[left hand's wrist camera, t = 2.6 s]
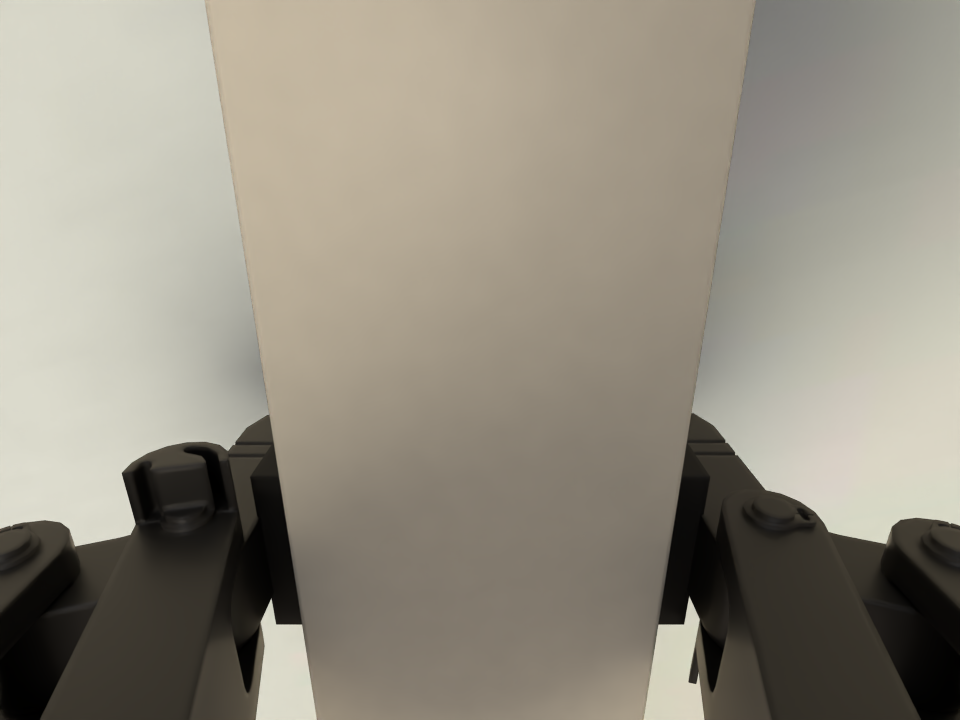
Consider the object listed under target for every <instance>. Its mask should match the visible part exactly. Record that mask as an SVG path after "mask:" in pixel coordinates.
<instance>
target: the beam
mask: <svg viewBox="0 0 960 720" xmlns="http://www.w3.org/2000/svg"><path fill="white" fill-rule="evenodd" d="M755 3H756V0H205V5H206V11H207V18H208V24H209V31H210V37H211V43H212V50H213V56H214V63H215V69H216V75H217V82H218V88H219V95H220V101H221V107H222V114H223V120H224V127H225V133H226V139H227V146H228V152H229V159H230V165H231V171H232V178H233V184H234V191H235V197H236V203H237V210H238V216H239V223H240V229H241V236H242V242H243V248H244V255H245V261H246V268H247V274H248V280H249V287H250V293H251V300H252V306H253V312H254V319H255V325H256V332H257V338H258V344H259V351H260V357H261V364H262V370H263V376H264V383H265V389H266V396H267V402H268V408H269V415H270V421H271V428H272V434H273V440H274V447H275V453H276V460H277V466H278V472H279V479H280V485H281V492H282V498H283V504H284V511H285V517H286V524H287V530H288V537H289V543H290V549H291V556H292V562H293V569H294V575H295V581H296V588H297V594H298V601H299V607H300V613H301V620H302V626H303V633H304V639H305V645H306V652H307V658H308V665H309V671H310V677H311V684H312V690H313V697H314V703H315V709H316V716H317V720H643V719H644V713H645V706H646V700H647V693H648V687H649V681H650V674H651V668H652V661H653V655H654V649H655V642H656V636H657V629H658V623H659V617H660V610H661V604H662V597H663V591H664V585H665V578H666V572H667V565H668V559H669V553H670V546H671V540H672V533H673V527H674V521H675V514H676V508H677V501H678V495H679V489H680V482H681V476H682V470H683V463H684V457H685V450H686V444H687V438H688V431H689V425H690V418H691V412H692V406H693V399H694V393H695V386H696V380H697V374H698V367H699V361H700V354H701V348H702V342H703V335H704V329H705V322H706V316H707V310H708V303H709V297H710V290H711V284H712V278H713V271H714V265H715V258H716V252H717V246H718V239H719V233H720V226H721V220H722V214H723V207H724V201H725V194H726V188H727V182H728V175H729V169H730V162H731V156H732V150H733V143H734V137H735V130H736V124H737V118H738V111H739V105H740V98H741V92H742V86H743V79H744V73H745V66H746V60H747V54H748V47H749V41H750V34H751V28H752V22H753V15H754V9H755Z"/></svg>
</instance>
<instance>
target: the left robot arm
mask: <svg viewBox="0 0 960 720" xmlns="http://www.w3.org/2000/svg"><path fill="white" fill-rule="evenodd" d="M122 476H123V479H124V483H125V487H126V490H127V494H128V497H129V501H130V505H131V508H132V512H133V515H134V519H135V523H136V525H135V527H134V529H133V531H132V533H131V535H129V536H125V537H121V538H116V539H111V540H106V541H101V542H96V543H91V544H86V545H81V546H76V547H75V545H74V542H73V539H72V536H71V533H70V530H69V529H68V528H67V527H66V526H64V525H63V524H62V523H60V522H53V521H46V520H44V521H35V522H27V523H20V524H15V525H13V526H11V527H10V526H8V527H5V528H2V529H0V720H256V712H257V704H258V695H259V687H260V679H261V671H262V663H263V655H264V639H263V632H262V627H261V620H262V618H263V615H264V613H265V611H266V609H267V607H268V604H269V602H270V600H271V598H272V603H273V608H274V614H275V620H276V624H302V620H301V613H300V607H299V601H298V594H297V588H296V581H295V575H294V569H293V562H292V556H291V549H290V543H289V537H288V530H287V524H286V517H285V511H284V504H283V498H282V492H281V485H280V479H279V472H278V466H277V460H276V453H275V447H274V440H273V434H272V428H271V421H270V415H267V416H265V417H264V418H262V419H260V420H259V421H257V422H255V423H254V424H252V425H251V426H249V427H247V428H246V430H245V431H244V432H243V433H242V435H241V436H240V437H239V438H238V440H237V441H236V442H235V445H233V446H232V447H231V448H230V450H229V451H227V450H225V449H224V448H223V447H221V446H220V445H217V444H213V443H208V442H187V443H182V444H177V445H172V446H167V447H164V448H161V449H159V450H156V451H153V452H150V453H148V454H146V455H144V456H143V457H141V458H139V459H137V460H136V461H134V462H132V463H131V464H130V465H129V466H128V467H127V468H126V469H125V470H124V471H123V472H122ZM689 596H690V598H691V601H692V603H693V605H694V607H695V609H696V612H697V614H698V616H699V618H700V622H699V627H698V632H697V638H696V643H695V648H694V653H693V658H692V664H691V669H690V675H689V683H694V684H696V682H697V677H698V672H699V678H700V686H701V694H702V702H703V710H704V718H705V720H960V526H959V525H955V524H952V523H951V524H949V523H948V522H944V521H940V520H931V519H922V518H912V519H905V520H900V521H899V522H898V523H896V524H895V525H894V526H892V528H891V531H890V534H889V537H888V540H887V543H886V544H882V543H877V542H872V541H867V540H862V539H857V538H852V537H847V536H842V535H838V534H834V533H830V532H828V530H827V528H826V526H825V524H824V523H823V522H822V520H821V519H820V518H819V517H818V515H817V514H816V513H815V512H814V511H813V510H811V509H810V508H808V507H807V506H805V505H804V504H802V503H801V502H799V501H797V500H795V499H792V498H790V497H788V496H785V495H783V494H780V493H775V492H771V491H766V490H765V489H764V488H763V486H762V485H761V484H760V483H759V481H758V480H757V479H756V478H755V476H754V475H753V474H752V473H751V472H750V470H749V469H748V468H747V467H746V465H745V464H744V463H743V462H742V460H741V459H740V458H739V457H738V455H735V452H734V450H733V449H732V448H731V447H730V445H729V444H728V443H725V439H724V438H723V437H722V436H721V434H720V433H719V432H718V431H717V429H716V428H715V427H714V426H713V425H712V424H710V423H708V422H707V421H705V420H703V419H702V418H700V417H698V416H697V415H695V414H694V413H691V418H690V425H689V431H688V438H687V444H686V450H685V457H684V463H683V470H682V476H681V482H680V489H679V495H678V501H677V508H676V514H675V521H674V527H673V533H672V540H671V546H670V553H669V559H668V565H667V572H666V578H665V585H664V591H663V597H662V604H661V610H660V617H659V623H658V624H684V622H685V616H686V610H687V605H688V599H689Z"/></svg>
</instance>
